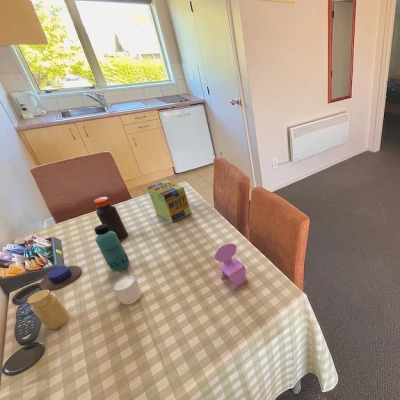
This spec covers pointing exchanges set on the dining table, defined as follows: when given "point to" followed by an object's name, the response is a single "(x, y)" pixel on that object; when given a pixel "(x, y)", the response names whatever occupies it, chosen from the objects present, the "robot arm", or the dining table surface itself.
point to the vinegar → (110, 217)
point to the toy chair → (231, 264)
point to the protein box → (169, 200)
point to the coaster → (50, 286)
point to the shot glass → (127, 290)
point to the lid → (59, 274)
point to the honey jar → (48, 309)
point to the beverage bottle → (111, 248)
